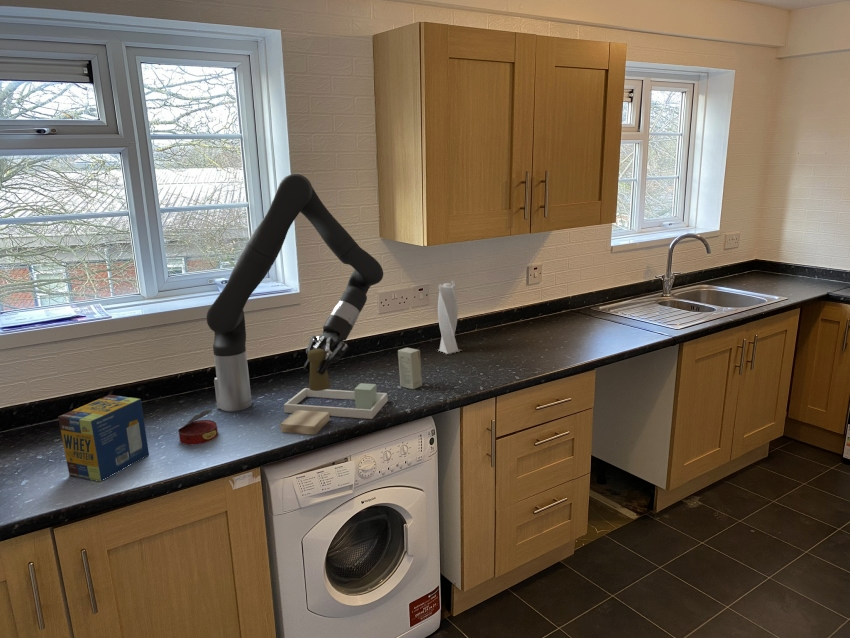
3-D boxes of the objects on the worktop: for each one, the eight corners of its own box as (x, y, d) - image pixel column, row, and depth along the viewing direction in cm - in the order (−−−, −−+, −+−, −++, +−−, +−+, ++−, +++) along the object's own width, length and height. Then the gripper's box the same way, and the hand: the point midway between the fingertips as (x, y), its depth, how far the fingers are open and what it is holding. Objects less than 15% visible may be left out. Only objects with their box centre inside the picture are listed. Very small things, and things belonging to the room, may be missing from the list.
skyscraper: (464, 352, 236) (463, 279, 229) (447, 356, 232) (445, 282, 225) (451, 347, 243) (449, 276, 236) (434, 351, 239) (432, 279, 232)
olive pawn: (324, 381, 180) (321, 345, 177) (334, 387, 175) (331, 349, 172) (305, 386, 176) (301, 349, 174) (314, 392, 171) (311, 354, 169)
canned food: (191, 461, 165) (168, 435, 160) (188, 443, 174) (166, 418, 169) (228, 436, 167) (207, 410, 162) (223, 419, 176) (203, 394, 171)
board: (281, 431, 170) (280, 423, 169) (297, 417, 179) (296, 409, 179) (314, 434, 167) (314, 426, 167) (329, 420, 177) (329, 412, 176)
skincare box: (422, 386, 201) (421, 350, 198) (413, 390, 198) (411, 353, 195) (408, 382, 206) (406, 346, 203) (399, 385, 203) (397, 349, 200)
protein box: (68, 476, 149) (56, 416, 145) (119, 449, 163) (110, 393, 159) (100, 483, 145) (89, 421, 142) (150, 454, 159) (141, 397, 156)
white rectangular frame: (284, 412, 184) (283, 404, 183) (305, 395, 197) (304, 388, 196) (372, 418, 177) (371, 410, 176) (387, 401, 190) (387, 393, 189)
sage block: (355, 411, 183) (354, 389, 181) (361, 405, 187) (360, 383, 186) (371, 412, 181) (370, 390, 180) (377, 406, 186) (376, 384, 184)
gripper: (317, 310, 181) (288, 360, 175) (351, 316, 172) (321, 369, 166) (332, 324, 186) (304, 373, 180) (366, 330, 177) (338, 383, 171)
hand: (313, 371), depth 173 cm, fingers closed on olive pawn, 5 cm apart
